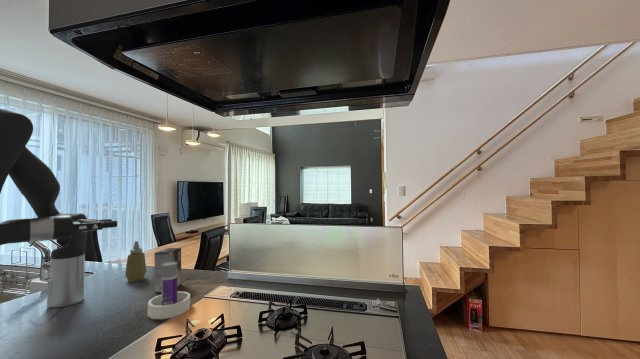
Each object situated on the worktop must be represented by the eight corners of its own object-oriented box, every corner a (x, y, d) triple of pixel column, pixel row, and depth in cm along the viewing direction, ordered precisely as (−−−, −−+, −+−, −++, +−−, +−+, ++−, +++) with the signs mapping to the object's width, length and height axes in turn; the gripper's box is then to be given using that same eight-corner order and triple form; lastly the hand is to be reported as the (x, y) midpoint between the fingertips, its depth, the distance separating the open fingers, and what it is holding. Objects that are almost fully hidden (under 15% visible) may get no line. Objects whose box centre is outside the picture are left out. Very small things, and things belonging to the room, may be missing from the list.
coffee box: (167, 284, 117) (167, 247, 118) (181, 284, 117) (181, 247, 117) (153, 292, 108) (154, 252, 108) (169, 292, 108) (169, 252, 108)
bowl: (144, 322, 83) (144, 309, 84) (151, 306, 95) (151, 295, 95) (189, 314, 88) (189, 302, 89) (190, 299, 100) (190, 289, 100)
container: (180, 305, 93) (180, 262, 94) (168, 311, 89) (168, 266, 89) (170, 303, 95) (170, 261, 95) (158, 309, 90) (158, 265, 91)
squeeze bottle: (138, 283, 119) (138, 242, 119) (120, 283, 119) (121, 243, 119) (150, 277, 127) (150, 239, 127) (133, 277, 127) (134, 239, 128)
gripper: (53, 217, 80) (119, 213, 92) (49, 215, 89) (109, 211, 101) (52, 242, 80) (119, 235, 92) (49, 237, 89) (109, 231, 101)
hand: (114, 222), depth 97 cm, fingers open, 8 cm apart
